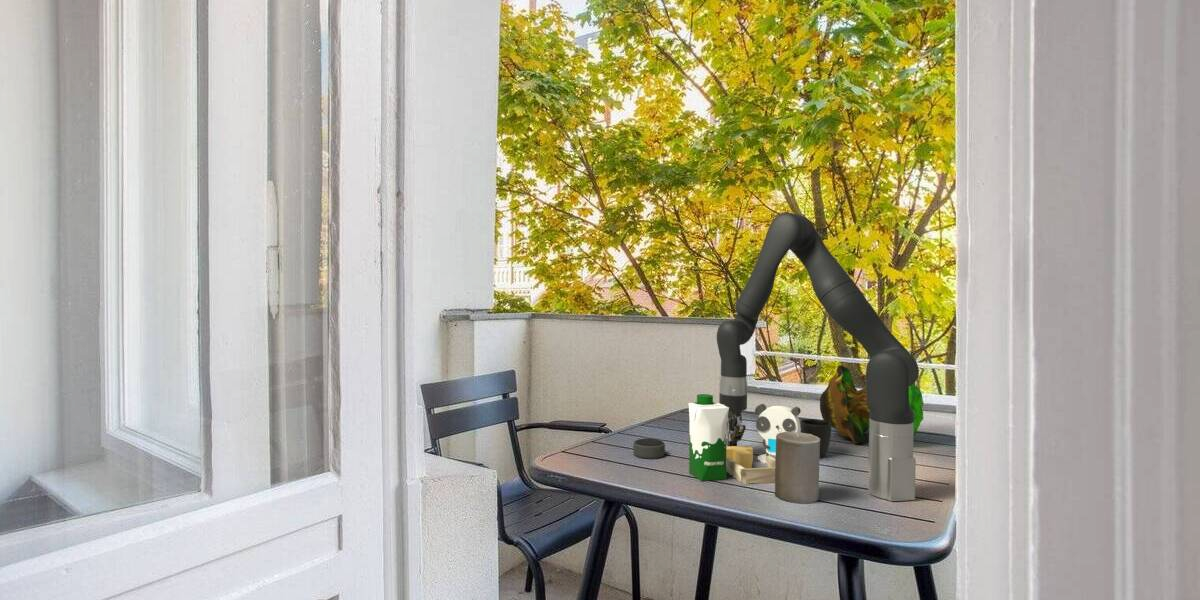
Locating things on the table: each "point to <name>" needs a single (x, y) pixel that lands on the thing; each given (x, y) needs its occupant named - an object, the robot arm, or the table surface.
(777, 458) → the pillar candle
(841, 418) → the decorative tree
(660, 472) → the table surface
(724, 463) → the milk carton
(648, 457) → the smart speaker
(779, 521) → the table surface
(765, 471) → the beige shallow open box
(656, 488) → the table surface
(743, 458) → the yellow cheese wedge
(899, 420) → the robot arm
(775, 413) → the panda figurine
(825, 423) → the mug
